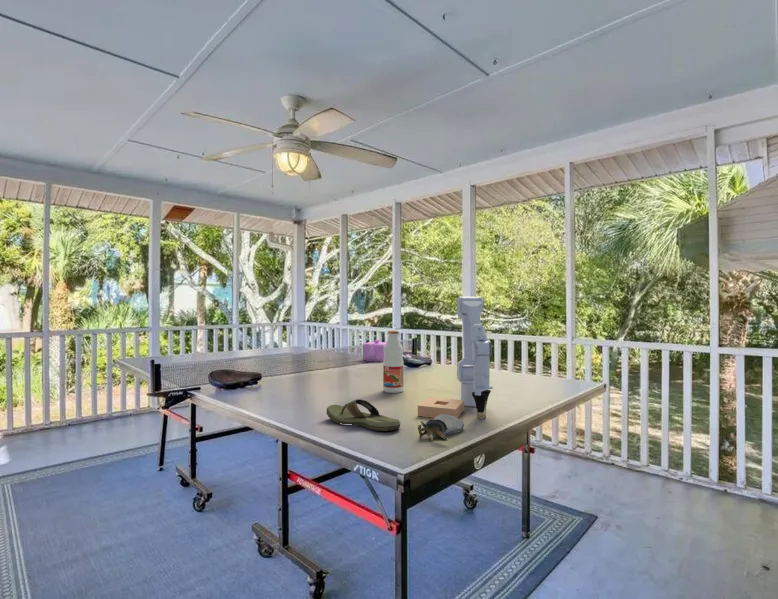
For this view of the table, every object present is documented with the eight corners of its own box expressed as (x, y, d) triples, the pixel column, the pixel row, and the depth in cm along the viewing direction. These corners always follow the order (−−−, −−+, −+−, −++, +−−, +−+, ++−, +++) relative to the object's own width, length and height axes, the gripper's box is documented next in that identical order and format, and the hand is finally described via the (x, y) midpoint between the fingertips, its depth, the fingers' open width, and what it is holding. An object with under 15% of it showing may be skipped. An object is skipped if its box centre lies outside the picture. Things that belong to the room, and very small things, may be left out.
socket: (428, 407, 174) (428, 397, 174) (464, 410, 169) (464, 400, 169) (417, 416, 161) (417, 405, 161) (455, 420, 156) (455, 409, 156)
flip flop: (321, 421, 156) (321, 397, 156) (344, 414, 165) (344, 391, 165) (385, 437, 138) (385, 411, 138) (407, 428, 148) (407, 403, 148)
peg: (477, 416, 161) (477, 397, 161) (486, 417, 160) (486, 397, 160) (476, 418, 158) (476, 399, 158) (485, 419, 157) (485, 399, 157)
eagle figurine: (419, 440, 131) (449, 435, 131) (415, 417, 135) (444, 412, 135) (421, 446, 137) (449, 441, 137) (417, 424, 141) (445, 419, 141)
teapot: (358, 362, 290) (358, 341, 289) (373, 357, 313) (373, 337, 313) (379, 363, 284) (379, 342, 284) (393, 358, 307) (393, 338, 307)
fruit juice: (407, 391, 203) (407, 331, 203) (392, 394, 197) (392, 332, 196) (393, 388, 210) (393, 329, 210) (379, 390, 204) (379, 330, 203)
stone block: (465, 434, 146) (440, 423, 152) (468, 421, 146) (442, 410, 152) (447, 445, 137) (421, 432, 143) (449, 431, 136) (423, 419, 142)
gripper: (489, 378, 151) (489, 417, 151) (495, 371, 164) (495, 407, 164) (469, 376, 154) (469, 415, 154) (476, 370, 167) (476, 405, 167)
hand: (481, 411), depth 159 cm, fingers closed on peg, 3 cm apart
